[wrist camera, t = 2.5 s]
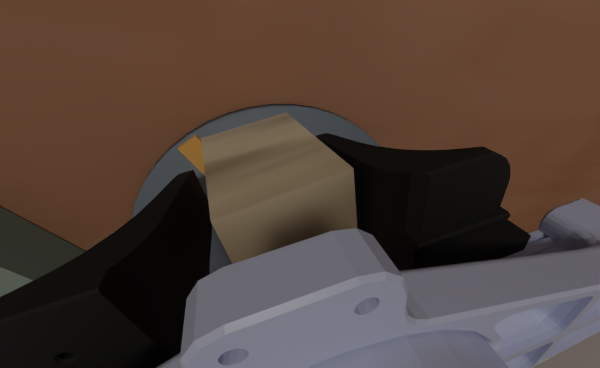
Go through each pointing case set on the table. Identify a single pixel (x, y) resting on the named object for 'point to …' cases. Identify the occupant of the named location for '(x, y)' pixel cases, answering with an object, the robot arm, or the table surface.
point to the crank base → (189, 147)
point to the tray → (28, 252)
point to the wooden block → (275, 186)
